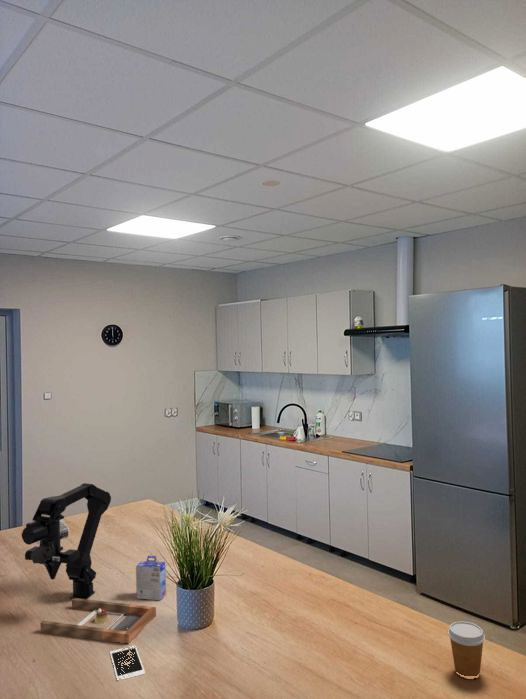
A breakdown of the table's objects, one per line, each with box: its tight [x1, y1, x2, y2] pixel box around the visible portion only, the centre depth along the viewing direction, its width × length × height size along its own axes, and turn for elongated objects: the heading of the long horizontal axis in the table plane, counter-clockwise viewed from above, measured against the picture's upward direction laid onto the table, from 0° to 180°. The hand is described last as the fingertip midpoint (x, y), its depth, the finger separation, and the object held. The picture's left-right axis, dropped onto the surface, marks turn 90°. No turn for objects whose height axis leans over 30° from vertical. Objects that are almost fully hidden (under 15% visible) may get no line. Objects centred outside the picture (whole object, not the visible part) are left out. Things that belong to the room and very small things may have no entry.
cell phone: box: [109, 645, 146, 681], centre depth 158 cm, size 8×16×1 cm, turn 23°
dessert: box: [76, 608, 125, 629], centre depth 183 cm, size 12×12×5 cm
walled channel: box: [40, 598, 157, 645], centre depth 181 cm, size 32×18×3 cm, turn 74°
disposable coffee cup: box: [447, 621, 486, 676], centre depth 148 cm, size 10×10×12 cm
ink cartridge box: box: [135, 555, 167, 601], centre depth 200 cm, size 10×6×14 cm, turn 78°
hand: (52, 579), depth 190 cm, fingers closed
